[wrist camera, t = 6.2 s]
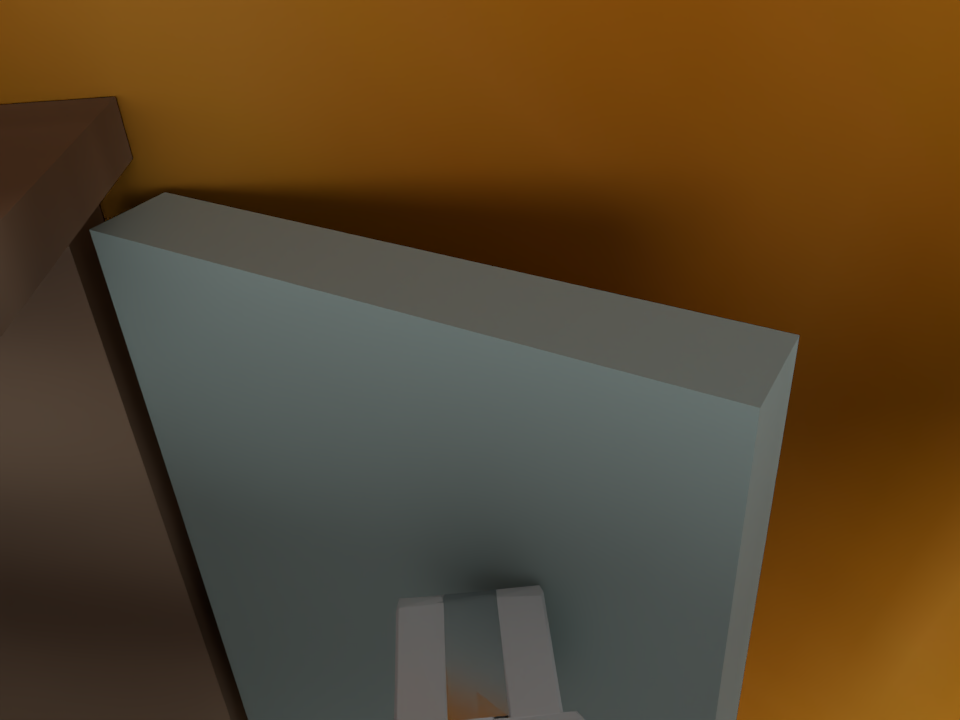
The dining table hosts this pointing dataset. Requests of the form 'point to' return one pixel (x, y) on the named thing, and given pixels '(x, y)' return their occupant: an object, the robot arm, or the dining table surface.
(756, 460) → the panel
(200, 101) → the dining table surface
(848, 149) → the dining table surface
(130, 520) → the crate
